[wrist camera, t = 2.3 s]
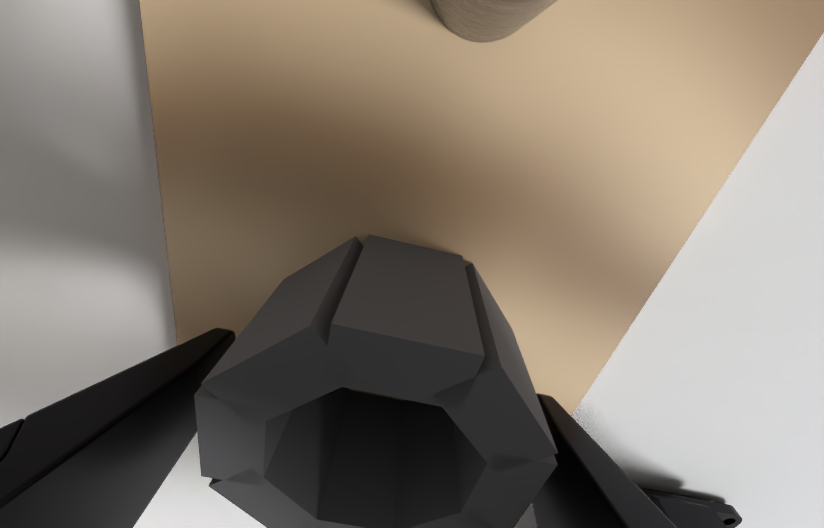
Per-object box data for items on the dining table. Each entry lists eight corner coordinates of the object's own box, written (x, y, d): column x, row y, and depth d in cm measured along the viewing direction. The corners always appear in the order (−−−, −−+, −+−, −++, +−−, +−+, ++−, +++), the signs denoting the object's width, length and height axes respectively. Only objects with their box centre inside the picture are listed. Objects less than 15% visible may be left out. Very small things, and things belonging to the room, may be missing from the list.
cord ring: (465, 439, 11) (480, 575, 8) (271, 402, 11) (206, 529, 7) (542, 274, 8) (614, 383, 5) (282, 214, 8) (185, 292, 5)
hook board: (524, 430, 13) (536, 469, 12) (210, 368, 12) (183, 402, 11) (869, -162, 6) (1002, -239, 4) (168, -404, 5) (74, -586, 4)
